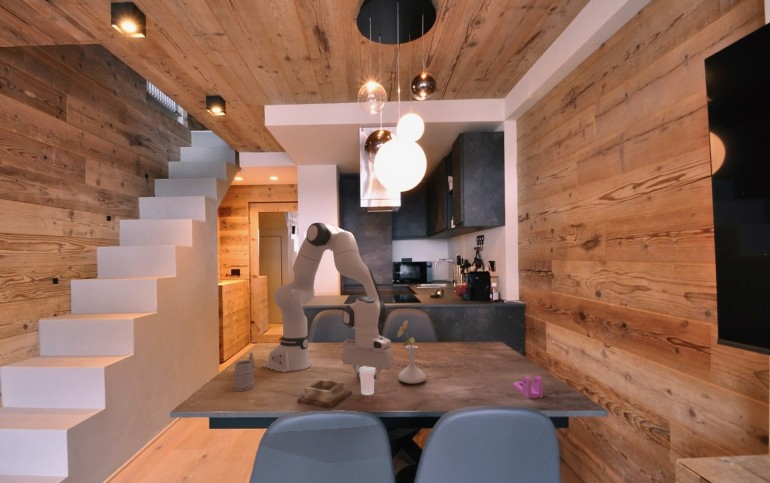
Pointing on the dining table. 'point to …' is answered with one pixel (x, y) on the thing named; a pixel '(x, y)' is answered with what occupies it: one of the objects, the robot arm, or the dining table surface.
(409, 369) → the flower in vase
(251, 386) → the mug
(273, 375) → the dining table surface
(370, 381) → the beverage cup
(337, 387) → the socket stand
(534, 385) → the bracket
